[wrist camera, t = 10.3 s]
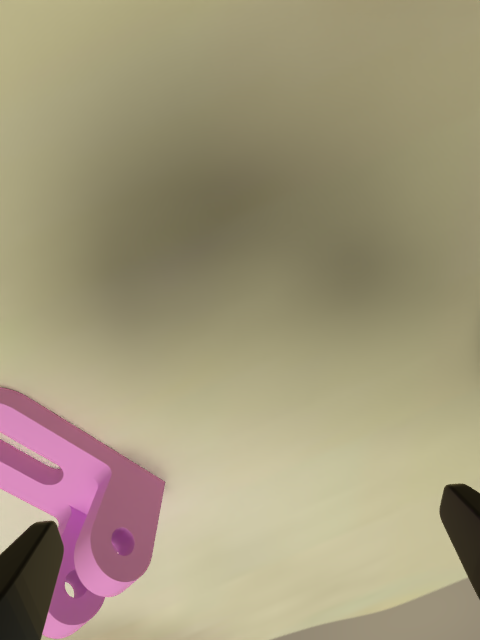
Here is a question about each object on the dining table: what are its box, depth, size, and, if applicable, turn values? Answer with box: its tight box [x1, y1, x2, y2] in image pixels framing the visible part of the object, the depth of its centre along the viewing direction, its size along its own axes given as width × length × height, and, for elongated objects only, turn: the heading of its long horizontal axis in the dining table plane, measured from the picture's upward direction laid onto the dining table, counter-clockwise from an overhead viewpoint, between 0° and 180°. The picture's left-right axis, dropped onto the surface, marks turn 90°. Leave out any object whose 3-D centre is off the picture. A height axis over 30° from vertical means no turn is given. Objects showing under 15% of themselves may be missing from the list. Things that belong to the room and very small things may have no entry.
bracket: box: [0, 387, 165, 639], centre depth 19 cm, size 13×6×7 cm, turn 47°
